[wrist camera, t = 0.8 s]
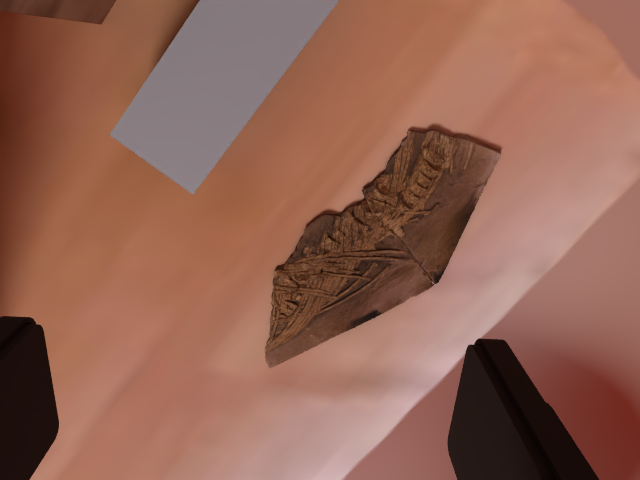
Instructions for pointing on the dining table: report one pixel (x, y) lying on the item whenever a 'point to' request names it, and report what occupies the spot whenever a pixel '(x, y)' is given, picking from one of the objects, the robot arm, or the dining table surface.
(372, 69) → the dining table surface
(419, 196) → the wooden fragment
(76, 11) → the shelf unit
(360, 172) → the dining table surface
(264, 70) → the shelf board
